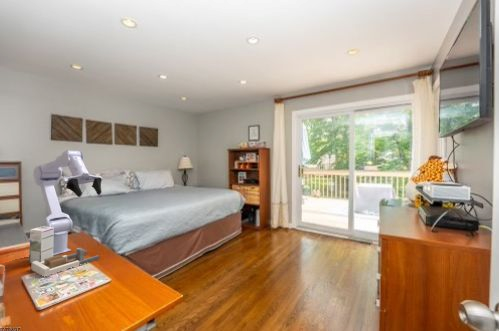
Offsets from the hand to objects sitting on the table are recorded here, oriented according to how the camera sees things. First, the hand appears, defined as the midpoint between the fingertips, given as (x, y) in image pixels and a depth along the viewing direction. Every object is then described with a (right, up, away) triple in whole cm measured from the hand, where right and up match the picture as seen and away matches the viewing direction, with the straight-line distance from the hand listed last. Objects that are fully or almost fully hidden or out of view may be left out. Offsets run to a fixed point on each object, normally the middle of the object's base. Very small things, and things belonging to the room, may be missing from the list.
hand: (90, 194), depth 95 cm
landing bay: (-8, -30, +6) cm, 32 cm away
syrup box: (-24, -30, +3) cm, 38 cm away
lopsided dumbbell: (-11, -30, 0) cm, 32 cm away
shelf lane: (-12, -30, -2) cm, 32 cm away
